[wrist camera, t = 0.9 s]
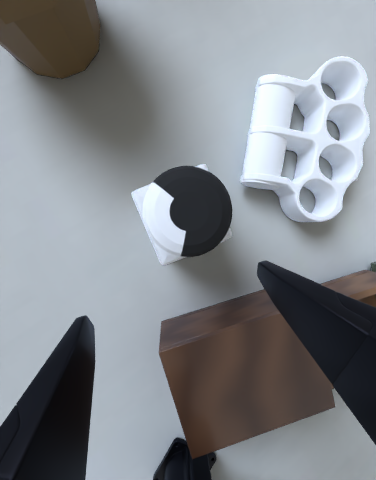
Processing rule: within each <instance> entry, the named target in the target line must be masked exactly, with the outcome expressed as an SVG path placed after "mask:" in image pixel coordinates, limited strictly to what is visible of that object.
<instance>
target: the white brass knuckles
mask: <svg viewBox="0 0 376 480" xmlns="http://www.w3.org/2000/svg"><path fill="white" fill-rule="evenodd" d="M321 83H324V84H327V85H328V86H330V87H331V88H332V90H333V91H334V94H335V100H333V99H331V98H329V97H328V96H327V95H326V94H325V93H324V91H323V89H322V86H321ZM367 83H368V78H367V75H366V72H365V70H364V69H363V67H362V66H361V65H360V64H359V63H358V62H357V61H356V60H354V59H352V58H350V57H345V56H339V57H335V58H332V59H330V60H328V61H327V62H325V63H324V64H323V65H322V66H321V67H320V68H319V69H318V70H317V71H316V72H315V73H314V74H313V76H312V77H311V78H310V79H309V80H307V81H304V80H300V79H296V78H292V77H288V76H285V75H280V74H269V75H264V76H261V77H260V78H259V79H258V83H257V85H256V87H255V92H256V95H255V100H254V106H253V112H252V118H251V124H250V130H249V131H248V135H247V137H248V142H247V148H246V154H245V160H244V166H243V172H242V175H241V177H240V182H241V184H242V185H245V186H248V187H252V188H258V189H268V190H273V191H274V192H275V193H276V194H277V195H278V196H279V201H280V206H281V208H282V210H283V212H284V213H285V215H286V216H287V217H289V218H290V219H292V220H294V221H297V222H323V221H327V220H330V219H332V218H333V217H335V216H336V215H337V214H338V213H339V212H340V211H341V210H342V208H343V207H342V201H343V196H344V193H345V191H346V189H347V187H348V186H349V185H350V184H351V183H352V182H353V181H355V180H358V178H357V176H358V174H359V172H360V170H361V168H362V166H363V164H364V163H363V158H362V151H363V146H364V143H365V140H366V139H367V137H368V136H369V134H370V123H369V115H368V113H367V111H366V108H365V104H364V92H365V88H366V85H367ZM294 104H296V105H297V106H298V108H299V110H300V112H301V113H302V115H303V116H304V118H305V121H304V127H303V131H298V130H293V129H289V128H290V123H291V117H292V112H293V106H294ZM326 120H331V121H333V122H334V123H335V124H336V125H337V127H338V129H339V132H340V138H339V141H338V140H335V139H334V138H332V137H331V135H330V134H329V132H328V130H327V126H326ZM286 150H290V151H294V152H295V153H296V154H297V157H298V159H297V165H296V170H295V175H294V179H293V180H292V181H290V180H289V179H288V178H286V177H281V173H282V167H283V162H284V156H285V151H286ZM320 156H321V157H323V158H325V159H326V160H327V161H328V162H329V163H330V164H331V166H332V178H331V180H330V179H329V178H327V177H325V176H324V175H323V174H322V172H321V170H320V168H319V157H320ZM302 186H304V187H306V188H307V189H309V190H311V191H312V192H313V194H314V196H315V200H316V204H315V208H314V210H313V211H312V213H309V212H307V211H306V210H304V209H303V207H302V206H301V204H300V200H299V194H300V190H301V188H302Z"/></svg>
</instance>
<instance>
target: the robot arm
mask: <svg viewBox="0 0 376 480" xmlns="http://www.w3.org/2000/svg"><path fill="white" fill-rule="evenodd" d="M257 276H258V278H259V280H260V282H261V283H262V285H263V287H264V289H265V290H266V292H267V294H268V296H269V297H270V299H271V301H272V302H273V304H274V305H275V306H276V308H277V309H278V311H279V312H280V313H281V315H282V316H283V317H284V319H285V320H286V322H287V323H288V324H289V326H290V327H291V328H292V330H293V331H294V333H295V334H296V335H297V337H298V338H299V340H300V341H301V342H302V344H303V345H304V346H305V348H306V349H307V351H308V352H309V353H310V355H311V356H312V357H313V359H314V360H315V362H316V363H317V364H318V366H319V367H320V369H321V370H322V371H323V373H324V374H325V375H326V377H327V378H328V380H329V381H330V382H331V384H332V385H333V387H334V388H335V389H336V391H337V392H338V394H339V395H340V396H341V398H342V399H343V401H344V402H345V403H346V405H347V406H348V407H349V409H350V410H351V412H352V413H353V414H354V416H355V417H356V418H357V420H358V421H359V423H360V424H361V425H362V427H363V428H364V429H365V431H366V432H367V434H368V435H369V436H370V438H371V439H372V441H373V442H374V443H375V445H376V307H373V306H371V305H368V304H366V303H363V302H360V301H358V300H355V299H353V298H351V297H348V296H346V295H344V294H341V293H339V292H335V291H334V290H332V289H330V288H328V287H325V286H323V285H321V284H318V283H316V282H314V281H312V280H309V279H307V278H305V277H302V276H300V275H298V274H296V273H293V272H291V271H289V270H286V269H284V268H282V267H280V266H277V265H275V264H273V263H270V262H268V261H262V262H259V263H258V268H257ZM94 371H95V334H94V326H93V324H92V322H91V321H90V320H89V318H88V317H87V316H81V317H78V318H76V319H75V321H74V322H73V324H72V325H71V327H70V328H69V329H68V331H67V332H66V334H65V335H64V337H63V338H62V339H61V341H60V342H59V344H58V345H57V347H56V348H55V349H54V351H53V352H52V354H51V355H50V357H49V358H48V359H47V361H46V362H45V364H44V365H43V367H42V368H41V369H40V371H39V372H38V374H37V375H36V377H35V378H34V380H33V381H32V382H31V384H30V385H29V387H28V388H27V390H26V391H25V392H24V394H23V395H22V397H21V398H20V400H19V401H18V402H17V405H16V406H15V407H14V408H13V409H12V411H11V412H10V414H9V415H8V417H7V418H6V419H5V421H4V422H3V424H2V425H1V426H0V480H85V476H86V464H87V452H88V441H89V429H90V418H91V406H92V394H93V383H94ZM215 461H216V455H215V453H213V452H211V453H208V454H206V455H203V456H200V457H197V458H195V459H192V457H191V454H190V451H189V447H188V444H187V442H186V441H184V440H181V439H179V438H176V439H174V441H173V443H172V444H171V446H170V448H169V449H168V451H167V453H166V455H165V456H164V458H163V460H162V462H161V463H160V465H159V467H158V469H157V470H156V472H155V474H154V476H153V480H212V479H211V473H210V470H211V468H212V466H213V465H214V463H215Z"/></svg>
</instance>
